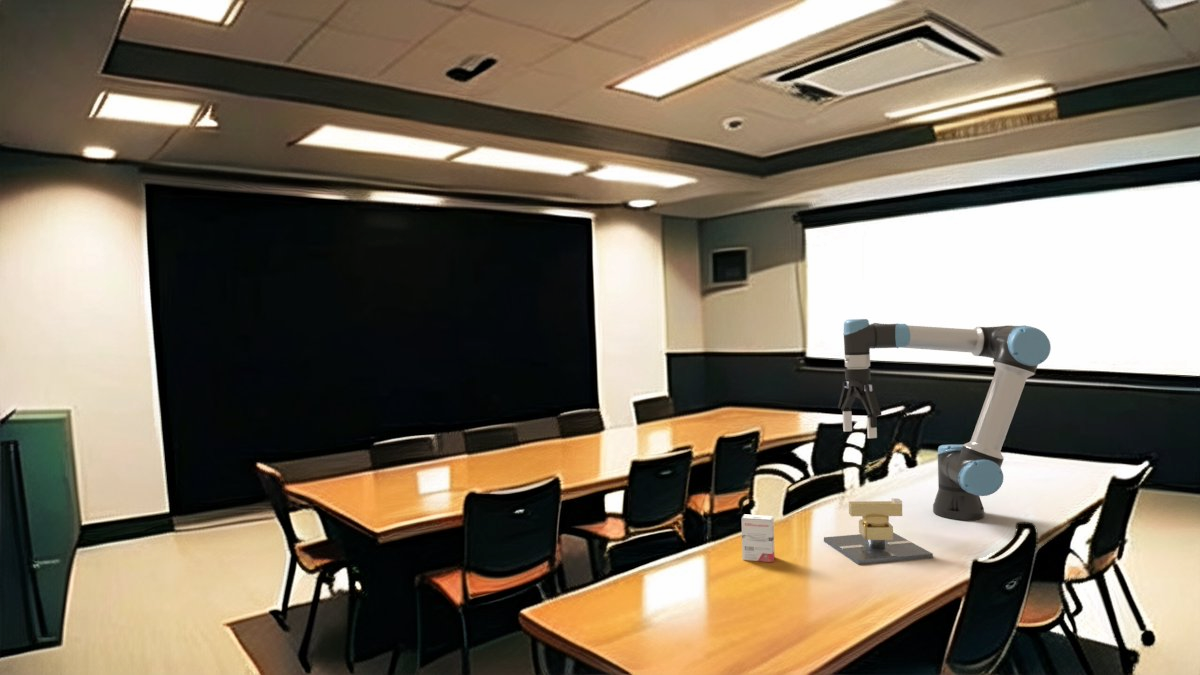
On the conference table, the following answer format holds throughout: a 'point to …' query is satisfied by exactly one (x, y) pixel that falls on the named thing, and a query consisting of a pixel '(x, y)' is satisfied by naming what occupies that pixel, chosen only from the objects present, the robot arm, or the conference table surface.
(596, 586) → the conference table surface
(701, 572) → the conference table surface
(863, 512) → the collar
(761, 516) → the ink box
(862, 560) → the plate
